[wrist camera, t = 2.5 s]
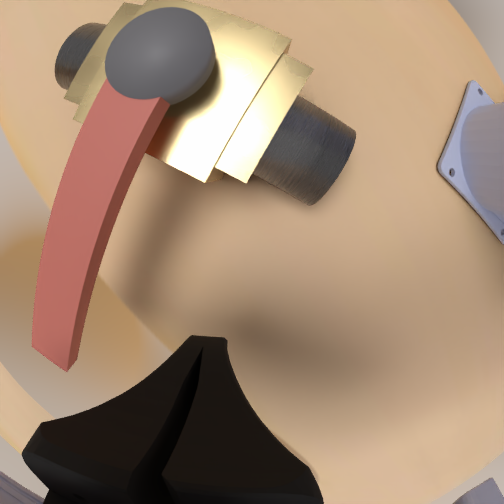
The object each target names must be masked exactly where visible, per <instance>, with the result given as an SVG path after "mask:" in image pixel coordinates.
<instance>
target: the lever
mask: <svg viewBox="0 0 504 504" xmlns="http://www.w3.org/2000/svg"><path fill="white" fill-rule="evenodd" d="M215 56H216V55H215V48H214V44H213V40H212V37H211V34H210V31H209V28H208V26H207V24H206V23H205V21H204V20H203V19H202V18H201V17H200V16H199V15H197V14H196V13H194V12H192V11H190V10H187V9H184V8H179V7H164V8H158V9H154V10H151V11H148V12H146V13H144V14H141V15H139V16H138V17H136V18H134V19H133V20H131V21H130V22H129V23H127V24H126V25H125V26H124V27H123V28H122V29H121V30H120V31H119V32H118V34H117V35H116V36H115V37H114V39H113V41H112V42H111V44H110V46H109V48H108V51H107V54H106V59H105V73H106V77H107V78H106V80H105V82H104V83H103V85H102V87H101V89H100V91H99V93H98V94H97V96H96V98H95V100H94V102H93V104H92V106H91V108H90V110H89V112H88V114H87V116H86V119H85V121H84V123H83V125H82V127H81V130H80V132H79V134H78V137H77V139H76V141H75V144H74V146H73V149H72V151H71V154H70V156H69V159H68V162H67V164H66V167H65V170H64V173H63V176H62V179H61V182H60V185H59V188H58V191H57V194H56V197H55V201H54V204H53V208H52V211H51V215H50V219H49V223H48V227H47V231H46V236H45V240H44V245H43V250H42V255H41V260H40V266H39V272H38V279H37V286H36V293H35V303H34V315H33V328H32V347H33V348H35V349H36V350H37V351H38V352H40V353H41V354H42V355H43V356H45V357H46V358H47V359H49V360H50V361H52V362H53V363H54V364H56V365H57V366H59V367H60V368H62V369H63V370H64V371H66V372H67V371H68V370H69V369H70V367H71V366H72V365H73V364H74V363H75V361H76V360H77V357H78V351H79V347H80V342H81V336H82V332H83V328H84V323H85V319H86V315H87V310H88V306H89V303H90V299H91V295H92V291H93V288H94V284H95V281H96V277H97V274H98V271H99V267H100V264H101V261H102V258H103V255H104V252H105V249H106V246H107V243H108V240H109V237H110V235H111V232H112V229H113V226H114V224H115V221H116V218H117V216H118V213H119V211H120V208H121V206H122V203H123V201H124V198H125V196H126V193H127V191H128V189H129V186H130V184H131V182H132V180H133V177H134V175H135V173H136V171H137V168H138V166H139V164H140V162H141V160H142V158H143V156H144V154H145V152H146V150H147V148H148V146H149V144H150V142H151V140H152V138H153V136H154V134H155V132H156V130H157V128H158V126H159V124H160V122H161V121H162V119H163V117H164V115H165V113H166V112H167V110H168V108H169V106H170V105H173V104H176V103H178V102H180V101H183V100H185V99H186V98H188V97H190V96H191V95H193V94H194V93H195V92H196V91H197V90H199V89H200V88H201V87H202V85H203V84H204V83H205V82H206V81H207V79H208V78H209V76H210V74H211V72H212V70H213V67H214V63H215Z"/></svg>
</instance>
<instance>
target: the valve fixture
mask: <svg viewBox="0 0 504 504" xmlns="http://www.w3.org/2000/svg"><path fill="white" fill-rule="evenodd" d="M164 7H179V8H184V9H187V10H190V11H192V12H194V13H196V14H197V15H199V16H200V17H201V18H202V19H203V20H204V21H205V23H206V24H207V26H208V28H209V31H210V34H211V37H212V40H213V44H214V48H215V55H216V56H215V63H214V67H213V70H212V72H211V74H210V76H209V78H208V79H207V81H206V82H205V83H204V84H203V85H202V87H201V88H200V89H199V90H197V91H196V92H195V93H194V94H193V95H191V96H190V97H188V98H186V99H185V100H183V101H180V102H178V103H176V104H173V105H170V106H169V108H168V110H167V112H166V113H165V115H164V117H163V119H162V121H161V122H160V124H159V126H158V128H157V130H156V132H155V134H154V136H153V138H152V140H151V142H150V144H149V146H148V148H147V150H146V152H145V153H147V154H149V155H151V156H153V157H155V158H157V159H159V160H161V161H163V162H165V163H167V164H169V165H171V166H173V167H175V168H177V169H179V170H181V171H183V172H185V173H187V174H189V175H191V176H193V177H195V178H197V179H198V180H200V181H202V182H204V183H206V182H212V181H217V180H221V179H222V177H223V175H224V173H227V174H229V175H231V176H233V177H235V178H237V179H239V180H241V181H242V182H244V183H247V181H248V179H249V178H250V176H251V174H254V175H256V176H258V177H259V178H261V179H263V180H265V181H267V182H269V183H270V184H272V185H274V186H276V187H277V188H279V189H281V190H283V191H285V192H286V193H288V194H290V195H291V196H293V197H295V198H297V199H298V200H300V201H302V202H303V203H305V204H307V205H309V206H310V205H313V204H315V203H316V202H317V201H318V200H319V199H321V198H322V197H323V195H324V194H325V193H326V192H327V191H328V190H329V188H330V187H331V186H332V184H333V183H334V182H335V180H336V179H337V177H338V176H339V174H340V173H341V171H342V169H343V168H344V166H345V164H346V162H347V160H348V158H349V156H350V154H351V151H352V149H353V146H354V143H355V139H356V132H355V130H353V129H352V128H350V127H349V126H347V125H346V124H344V123H343V122H341V121H340V120H338V119H337V118H335V117H334V116H332V115H330V114H329V113H327V112H326V111H324V110H322V109H321V108H319V107H317V106H316V105H314V104H312V103H310V102H309V101H307V100H305V99H304V98H302V97H300V96H298V94H299V92H300V90H301V89H302V87H303V86H304V84H305V82H306V81H307V79H308V77H309V76H310V74H311V73H312V71H313V68H311V67H310V66H308V65H306V64H304V63H302V62H300V61H298V60H296V59H295V58H293V57H291V56H289V55H287V53H288V50H289V46H290V43H291V40H292V39H290V38H288V37H286V36H284V35H282V34H280V33H277V32H275V31H273V30H271V29H268V28H266V27H264V26H261V25H259V24H256V23H254V22H251V21H249V20H246V19H243V18H241V17H238V16H235V15H232V14H229V13H226V12H223V11H220V10H217V9H214V8H211V7H207V6H204V5H200V4H196V3H193V2H189V1H185V0H147V1H146V2H145V3H144V5H143V6H141V5H136V4H130V3H123V5H122V6H121V7H120V8H119V10H118V11H117V12H116V14H115V15H114V16H113V18H112V19H111V20H110V22H109V23H108V24H107V25H105V24H99V23H88V24H85V25H83V26H81V27H79V28H78V29H76V30H75V31H74V32H73V33H72V34H71V35H70V36H69V37H68V38H67V39H66V41H65V42H64V44H63V45H62V47H61V49H60V51H59V53H58V56H57V59H56V63H55V77H56V81H57V83H58V84H59V85H60V86H61V87H62V88H64V89H66V90H68V91H67V93H66V95H65V97H64V99H66V100H69V101H71V102H74V103H76V104H79V107H78V109H77V112H76V114H75V116H74V118H73V120H76V121H78V122H80V123H82V124H83V123H84V121H85V119H86V116H87V114H88V112H89V110H90V108H91V106H92V104H93V102H94V100H95V98H96V96H97V94H98V93H99V91H100V89H101V87H102V85H103V83H104V82H105V80H106V78H107V77H106V73H105V59H106V54H107V51H108V48H109V46H110V44H111V42H112V41H113V39H114V37H115V36H116V35H117V34H118V32H119V31H120V30H121V29H122V28H123V27H124V26H125V25H126V24H127V23H129V22H130V21H131V20H133V19H134V18H136V17H138V16H139V15H141V14H144V13H146V12H148V11H151V10H154V9H158V8H164Z"/></svg>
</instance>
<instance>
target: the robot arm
mask: <svg viewBox="0 0 504 504" xmlns="http://www.w3.org/2000/svg"><path fill="white" fill-rule="evenodd" d="M438 170H439V172H440V174H441V175H442V176H443V177H444V178H445V179H446V180H447V181H448V182H449V183H450V184H451V185H452V186H453V187H454V188H455V189H456V190H457V191H458V192H459V193H460V194H461V195H462V196H463V197H464V198H465V199H466V201H467V202H468V203H469V204H470V205H471V206H472V207H473V208H474V210H475V211H476V212H477V213H478V214H479V215H480V216H481V218H482V219H483V220H484V221H485V222H486V224H487V225H488V226H489V227H490V229H491V230H492V231H493V232H494V234H495V235H496V236H497V238H498V239H499V240H500V241H501V243H502V244H503V245H504V102H502V103H496V104H495V103H494V102H493V101H492V99H491V98H490V97H489V96H488V95H487V93H486V92H485V91H484V90H483V89H482V88H481V86H480V85H479V84H478V83H477V82H476V81H474V80H472V81H469V83H468V86H467V89H466V92H465V95H464V98H463V101H462V104H461V107H460V110H459V113H458V115H457V118H456V121H455V124H454V126H453V129H452V131H451V134H450V136H449V139H448V141H447V144H446V146H445V149H444V151H443V153H442V156H441V158H440V160H439V163H438ZM449 170H451V175H449ZM22 457H23V459H24V461H25V463H26V465H27V466H28V467H29V468H30V470H31V471H32V472H33V473H34V474H35V475H36V476H37V477H38V478H39V479H40V480H41V481H42V482H43V483H44V484H45V485H46V487H48V489H49V491H48V493H47V495H46V498H45V499H44V498H42V497H40V496H38V495H37V494H35V493H33V492H31V491H30V490H28V489H27V488H25V487H23V486H22V485H20V484H19V483H17V482H16V481H14V480H13V479H11V478H10V477H8V476H7V475H5V474H4V473H3V472H1V471H0V504H324V502H323V497H322V494H321V491H320V489H319V486H318V484H317V482H316V480H315V478H314V476H313V474H312V472H311V470H310V468H309V467H308V466H307V465H305V464H304V463H303V462H302V461H300V460H299V459H298V458H297V457H295V456H294V455H293V454H292V453H291V452H290V451H288V449H287V448H286V447H284V446H283V445H282V444H281V443H280V442H279V441H278V440H277V438H276V437H275V436H274V435H273V434H272V433H271V432H270V430H269V429H268V428H267V427H266V426H265V425H264V423H263V422H262V421H261V420H260V418H259V417H258V416H257V414H256V413H255V411H254V410H253V408H252V407H251V405H250V404H249V402H248V400H247V399H246V397H245V395H244V393H243V391H242V389H241V387H240V385H239V383H238V381H237V379H236V376H235V374H234V371H233V369H232V366H231V363H230V359H229V355H228V351H227V340H226V339H225V338H222V337H207V336H195V335H191V336H190V337H189V338H188V339H187V340H186V341H185V342H184V343H183V344H182V345H181V346H180V347H179V348H178V349H177V350H176V351H175V352H174V353H173V354H172V355H171V356H170V357H169V358H168V359H167V360H166V361H165V362H164V363H163V364H162V365H161V366H160V367H158V368H157V369H156V370H155V371H153V372H152V373H151V374H150V375H149V376H148V377H146V378H145V379H144V380H142V381H141V382H140V383H138V384H137V385H135V386H134V387H132V388H131V389H129V390H128V391H126V392H124V393H123V394H121V395H119V396H117V397H115V398H113V399H111V400H109V401H107V402H105V403H103V404H101V405H99V406H96V407H94V408H91V409H89V410H86V411H83V412H81V413H78V414H75V415H71V416H68V417H64V418H60V419H56V420H51V421H47V422H42V423H41V424H40V426H39V427H38V428H37V430H36V431H35V433H34V434H33V436H32V437H31V439H30V441H29V442H28V444H27V445H26V447H25V448H24V450H23V451H22ZM453 504H504V497H503V495H502V494H501V492H500V490H499V488H498V486H497V484H496V483H495V481H494V479H493V478H489V479H488V480H486V481H484V482H483V483H481V484H480V485H478V486H476V487H474V488H473V489H471V490H470V491H468V492H466V493H465V494H464V495H462V496H461V497H460V498H458V499H457V500H456V501H455V502H454V503H453Z"/></svg>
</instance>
